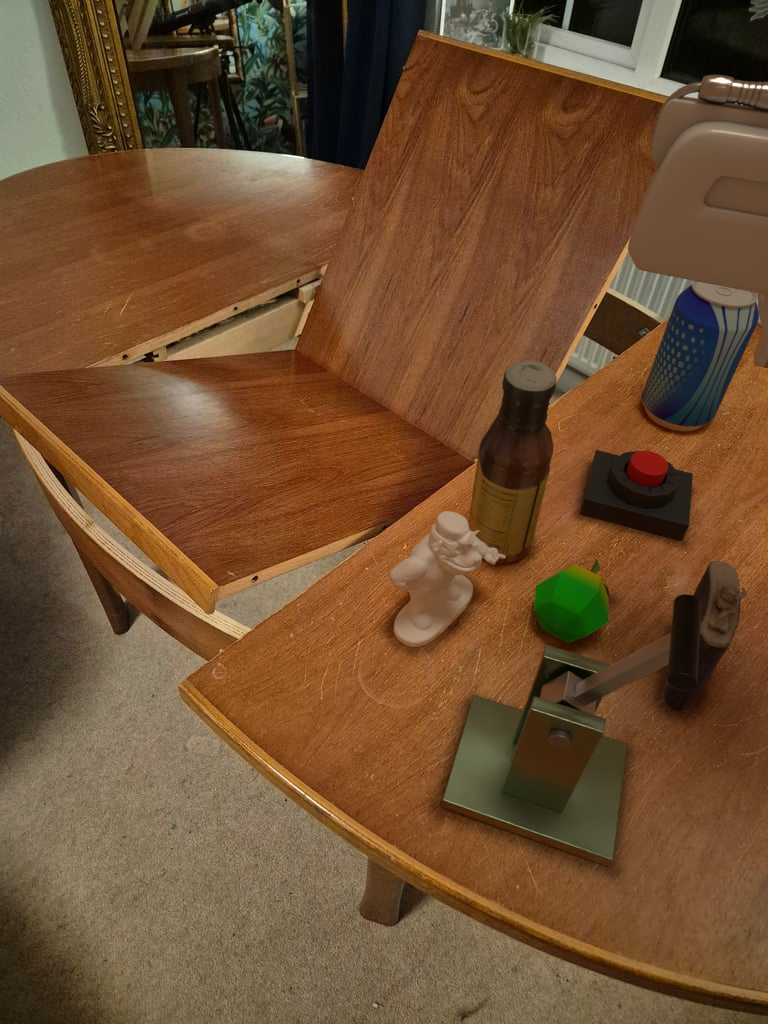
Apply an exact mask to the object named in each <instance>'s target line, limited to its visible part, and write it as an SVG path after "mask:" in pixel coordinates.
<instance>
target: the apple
mask: <svg viewBox="0 0 768 1024" xmlns="http://www.w3.org/2000/svg"><path fill="white" fill-rule="evenodd" d="M601 570H602V569H601V566H600V563H599V561H598V559H596V560H595V562H594V563H593V565H592V567H591V569H590V570H588V569H587V568H585V567H582V566H580V565H578V564H576V563H574V564H573V565H570V566H568V567H567V568H566V567H565V568H564V569H562V570H560V571H558V572H556V573H555V574H553V575H551V576H549V577H548V578H546V579H545V580H544V579H543V580H542V581H541V582H539V583H537V584H535V591H534V602H533V611H534V613H535V615H536V618H537V620H538V623H539V625H540V627H541V630H542V631H544V632H546V633H547V634H550V635H552V636H553V637H555V638H557V639H559V640H561V641H562V642H565V643H567V644H570V643H571V642H575V641H579V640H580V639H583V638H586V637H587V636H589V635H591V634H592V633H594V632H595V631H597V630H599V629H600V628H602V627H603V626H605V625H607V624H608V623H609V622H610V619H609V614H610V613H609V612H610V611H609V610H610V609H609V603H610V602H609V600H611V597H610V589H609V587H608V586H607V585H606V584H605V582H604V580H603V578H602V576H601V575H599V574H598V572H600V571H601Z"/></svg>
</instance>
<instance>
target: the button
mask: <svg viewBox="0 0 768 1024" xmlns="http://www.w3.org/2000/svg"><path fill="white" fill-rule="evenodd" d="M637 451H638V452H636V453H634V454H633V455H632V457H631V459H630V462H629V465H628V467H627V470H626V473H627V476H628V478H629V479H630V480H632V481H633V482H635V483H636V484H638V485H641V486H645V487H649V488H650V487H657V486H659V485H660V484H661V483H662V482H663V479H664V477H665V475H666V472H667V470H668V463H667V461H668V460H666V458H665V457H664V456H662V455H661V454H659V453H656V452H654V451H651V450H637Z"/></svg>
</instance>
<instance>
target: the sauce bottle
mask: <svg viewBox="0 0 768 1024" xmlns="http://www.w3.org/2000/svg"><path fill="white" fill-rule="evenodd" d="M501 386H502V391H503V393H502V398H501V405H500V408H499V411H498V415H497V416H496V417H495V418H494V421H493V422H492V423H491V425H490V426H489V428H488V430H487V431H486V433H485V434H484V436H483V438H482V439H481V440H480V442H479V443H480V444H479V448H478V455H477V460H476V469H475V475H474V482H473V489H472V490H473V491H472V495H471V503H470V510H469V517H468V524H469V530H471V531H473V532H474V531H477V530H481V532H479V533H477V534H476V535H475V536H476V537H477V538H479V539H480V540H481V541H482V542H484V543H485V544H486V545H487V546H488V547H489V548H496V549H497V550H498V553H499V554H502V555H505V556H506V558H504V559H502V558H498V559H499V560H498V561H497V562H496V563H495V564H498V565H499V564H508V563H513V562H516V561H519V560H522V559H523V557H525V556H526V555H527V553H528V552H529V549H530V547H531V544H532V542H533V541H534V537H535V533H536V529H537V525H538V521H539V517H540V513H541V509H542V504H543V500H544V497H545V492H546V488H547V483H548V480H549V475H550V471H551V462H552V458H553V454H554V442H553V437H552V431H551V430H550V428H549V427H548V426H547V423H546V422H547V421H548V420H547V419H548V410H549V407H550V401H551V399H552V396H553V395H555V391H556V387H557V374H556V372H555V371H554V370H553V369H552V368H551V367H550V366H549V365H547V364H544V363H543V362H539V361H534V360H519V361H515V362H513V363H511V364H509V365H508V367H507V368H506V369H505V371H504V374H503V379H502V385H501Z"/></svg>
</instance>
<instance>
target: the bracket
mask: <svg viewBox="0 0 768 1024" xmlns="http://www.w3.org/2000/svg"><path fill="white" fill-rule="evenodd" d="M610 665H611V663H608V662H605V661H602V660H598V659H595V658H593V657H588V656H584V655H581V654H579V653H575V652H571V651H569V650H565V649H562V648H558V647H555V646H551V645H548V644H546V645H545V646H544V649H543V652H542V655H541V657H540V660H539V663H538V666H537V669H536V672H535V674H534V678H533V679H532V680H533V681H532V684H531V686H530V689H529V691H528V695H527V698H526V701H525V702H524V703H525V704H524V707H523V709H519V708H516V707H513V706H510V705H507V704H504V703H500V702H497V701H495V700H492V699H489V698H485V697H483V696H479V695H476V694H473V695H472V698H471V702H470V705H469V710H468V712H467V716H466V718H465V722H464V726H463V729H462V732H461V736H460V739H459V742H458V745H457V749H456V751H455V756H454V758H453V762H452V766H451V769H450V771H449V776H448V780H447V783H446V786H445V789H444V793H443V796H442V799H441V802H440V803H441V804H440V807H441V808H443V809H446V810H449V811H451V812H453V813H457V814H460V815H463V816H466V817H469V818H471V819H474V820H477V821H480V822H482V823H484V824H487V825H491V826H494V827H497V828H499V829H501V830H505V831H507V832H510V833H514V834H516V835H519V836H522V837H525V838H528V839H530V840H533V841H535V842H539V843H542V844H544V845H547V846H550V847H552V848H555V849H558V850H561V851H564V852H567V853H569V854H572V855H575V856H578V857H580V858H583V859H586V860H589V861H592V862H595V863H598V864H600V865H603V866H605V867H609V866H610V865H611V864H612V862H613V861H614V857H615V856H614V855H615V848H616V839H617V832H618V831H617V830H618V822H619V815H620V806H621V798H622V789H623V782H624V775H625V765H626V759H627V749H628V744H627V743H625V742H622V741H619V740H615V739H613V738H610V737H606V736H604V734H605V728H606V722H607V720H606V718H605V717H603V716H599V715H595V714H594V715H592V714H589V713H586V712H583V711H580V710H576V709H573V708H570V707H567V706H564V705H561V704H558V703H554V702H551V701H548V700H545V699H542V698H540V695H541V690H542V686H543V685H545V684H546V683H548V682H550V681H552V680H553V679H555V678H557V677H559V676H561V675H562V674H564V673H566V672H568V671H570V672H572V673H573V674H575V675H576V676H578V677H580V678H581V679H583V680H584V679H585V678H587V677H589V676H591V675H593V674H595V673H597V672H598V671H600V670H602V669H604V668H606V667H608V666H610ZM602 700H603V697H602V698H600V699H598V700H597V702H596V708H595V713H596V712H597V710H598V708H599V705H601V701H602Z"/></svg>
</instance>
